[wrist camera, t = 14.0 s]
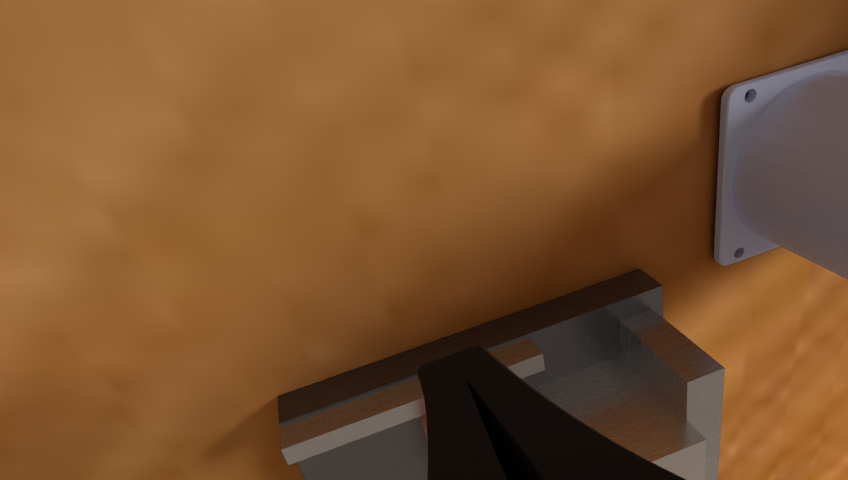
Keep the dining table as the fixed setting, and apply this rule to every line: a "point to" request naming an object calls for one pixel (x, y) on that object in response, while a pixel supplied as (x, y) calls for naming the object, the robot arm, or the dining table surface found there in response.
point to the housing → (631, 415)
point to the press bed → (521, 353)
